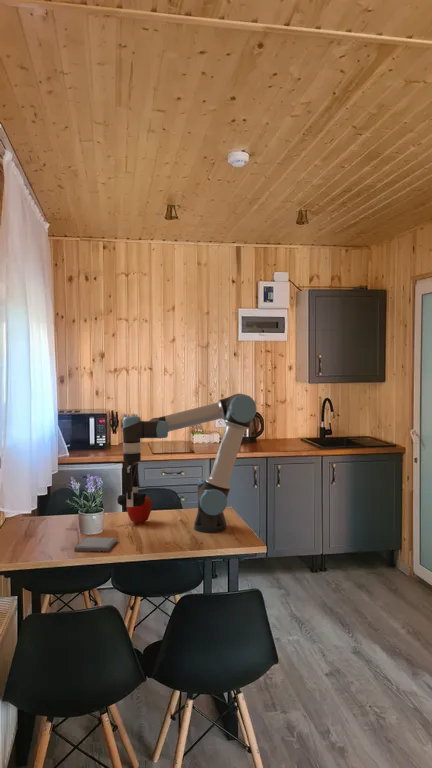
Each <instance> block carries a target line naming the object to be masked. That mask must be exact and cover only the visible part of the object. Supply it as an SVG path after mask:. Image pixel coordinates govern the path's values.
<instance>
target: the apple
mask: <svg viewBox="0 0 432 768" xmlns="http://www.w3.org/2000/svg"><path fill="white" fill-rule="evenodd" d="M152 503H153V502H152V500H151V498H150V497H148V496H147V495H146V497H145V502H144V504H143V505H142V506H134V507H127V506H125V508H126V512H127V515H128V517H129V519H130V521H131V522H132V523H134V525H144V524H145V523H146V522H147V521H148V520H149V517H150V514H151V512H152V505H153V504H152Z"/></svg>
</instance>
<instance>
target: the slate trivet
mask: <svg viewBox="0 0 432 768" xmlns="http://www.w3.org/2000/svg"><path fill="white" fill-rule="evenodd" d="M117 543H118V538H117V537H93V536H92V537H90V536H89V537H88V536H86V537H84V538H83V539H82V540H81V541H79V542H78V543H77V545H76V546H74V552H90V551H98V553H99V552H100V553H105V552H104V551H107V552H106V553H109V552H110V551H111V549H112V548H114V545H116V544H117ZM101 551H103V552H101ZM108 551H109V552H108Z"/></svg>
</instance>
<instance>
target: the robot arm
mask: <svg viewBox="0 0 432 768" xmlns="http://www.w3.org/2000/svg"><path fill="white" fill-rule="evenodd" d="M256 413H257V405H256V401H255V400H254V398H253V397H251V396H250V395H248V394H243V393H236V394H232V395H230V396H226V397H225V398H221V399H219V400H218V401H217V402H215V403H211V404H210V403H209V404H207V405H202V406H199V407H195V408H192V409H191V408H190V409H187V410H183V411H179V412H175V413H171V414H167V415H164V416H159V417H153V418H151V419H149V420H142V419H141V417H140V416H136V415H135V416H134V415H131V416H125V417H124V418H123V421H122V442H123V444H121V447H123V448H122V451H123V455H122V457H123V458H122V461H123V462H124V463H127V465H126V467H125V480H124V481H125V483H124V484H125V485H124V492H125V493H126V494H127V507H133V493H136V492H137V493H139V487H140V485H141V484H140V479H139V476H140V475H139V474H140V473H139V462H140V461H141V460H142V458H141V457H142V454H141V453H142V452H141V450H142V448H141V446H142V445H141V443H142V441H141V439H165V438H166V439H167V438H168V437H169V432H172V431H177V430H180V429H185V428H189V427H193V426H197V425H201V424H205V423H209V422H212V421H217V420H220V419H221V420H223V421H224V423H225V428H224V430H223V432H222V433H223V434H222V437H221V440H220V442H219V447H218V449H217V452H216V456H215V459H214V461H213V462H214V463H213V466H212V468H211V471H210V472H211V473H210V475H209V477H207V478H200V479H198V481H197V514H196V517H195V520H194V524H193V526H194V527H193V528H194V530H195V531H197V532H202V533H219V531H220V532H224V531H225V529H226V528H227V527H228V526H227V520H226V517H225V514H224V511H225V510H226V508H227V505H228V497H229V493H230V490H231V486H230V484H229V482H230V478H231V476H232V472H233V469H234V466H235V463H236V459H237V457H238V454H239V450H240V448H241V447H240V446H241V444H242V441H243V438H244V435H245V431H247V430H248V429H250V427H251V424H252V421H253V419H254V418H255V416H256ZM223 530H224V531H223Z"/></svg>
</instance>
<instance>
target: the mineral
mask: <svg viewBox="0 0 432 768" xmlns="http://www.w3.org/2000/svg"><path fill="white" fill-rule="evenodd" d="M146 496H147V494H146V493H141V492H138V493H137V492H136V493H133V507H134V506H142V505H143V504H144V502H145V497H146ZM116 501H117V504H118V505H120V506H121V507H126V506H127V493H126V494H121V495H118V497H117V499H116Z"/></svg>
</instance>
